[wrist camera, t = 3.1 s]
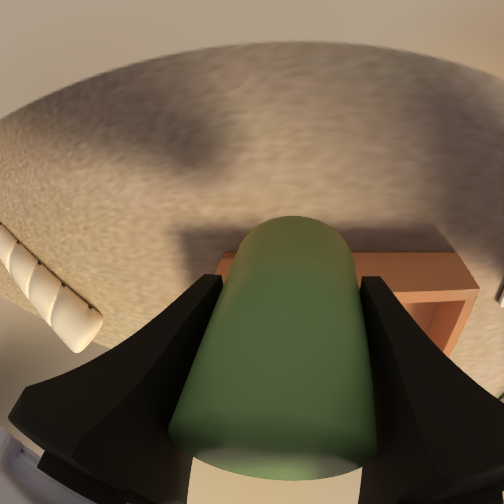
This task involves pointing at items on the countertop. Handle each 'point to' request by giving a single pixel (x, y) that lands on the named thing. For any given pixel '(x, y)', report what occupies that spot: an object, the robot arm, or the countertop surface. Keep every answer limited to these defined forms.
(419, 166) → the countertop surface
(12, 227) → the countertop surface
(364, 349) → the cucumber piece
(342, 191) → the countertop surface
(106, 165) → the countertop surface
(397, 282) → the terracotta bin
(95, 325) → the unicorn horn
